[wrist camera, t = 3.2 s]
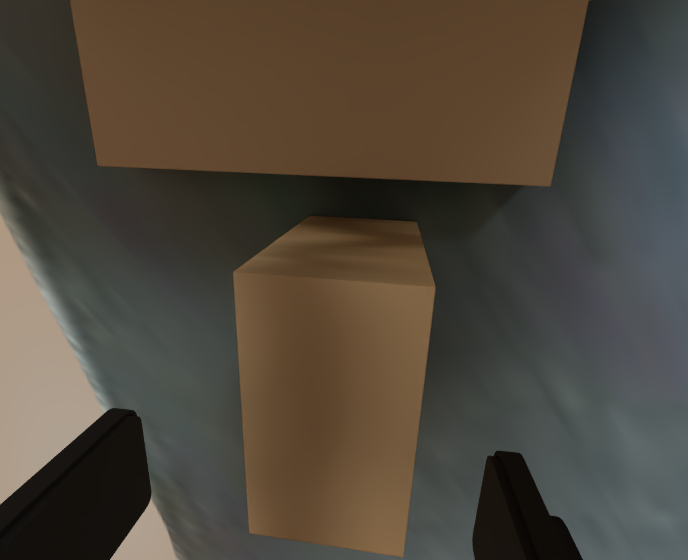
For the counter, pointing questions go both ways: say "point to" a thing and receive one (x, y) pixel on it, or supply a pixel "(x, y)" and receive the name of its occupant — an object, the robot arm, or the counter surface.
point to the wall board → (331, 86)
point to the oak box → (334, 380)
